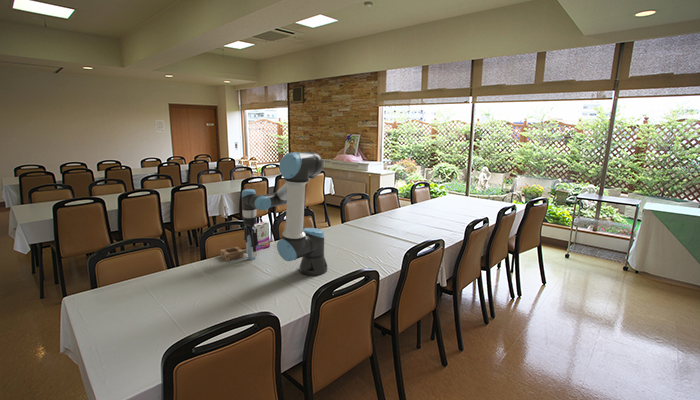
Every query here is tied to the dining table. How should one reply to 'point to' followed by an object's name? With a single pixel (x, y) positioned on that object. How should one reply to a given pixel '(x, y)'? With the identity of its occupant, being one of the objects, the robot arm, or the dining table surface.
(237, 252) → the wooden square frame
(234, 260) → the mat
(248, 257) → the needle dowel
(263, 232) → the candy bar box
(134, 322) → the dining table surface
